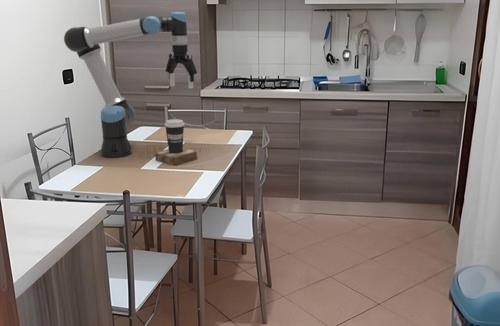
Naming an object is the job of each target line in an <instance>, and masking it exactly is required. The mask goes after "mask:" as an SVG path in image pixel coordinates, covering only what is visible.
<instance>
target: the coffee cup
mask: <svg viewBox="0 0 500 326" xmlns="http://www.w3.org/2000/svg"><path fill="white" fill-rule="evenodd" d="M163 126H164V128H165V132H166V141H167V147H168V148H167V149H169V152H170V153H181V152H183V148H184V127H185V122H184V120H183V119H179V118H178V119H177V118H174V119H168V120H165V123H164V125H163Z"/></svg>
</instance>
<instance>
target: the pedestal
mask: <svg viewBox="0 0 500 326" xmlns="http://www.w3.org/2000/svg"><path fill="white" fill-rule="evenodd" d="M154 156H155V161H157V162H161V163H164V164H168V165H172V166H179V165H183V164H186V163H188V162H192V161H194V160H198V153H197V151H195V150H193V149H188V148H184V147H183V152H181V153H170V152H169V148H167V149H164V150H161V151H156V153H155V155H154Z"/></svg>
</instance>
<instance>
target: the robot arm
mask: <svg viewBox="0 0 500 326" xmlns="http://www.w3.org/2000/svg"><path fill="white" fill-rule="evenodd" d="M187 26H188V24H187V14H186V13H185V12H183V11H179V12H178V11H172V12H170V15H169V16H160V15H159V16H158V15H157V16H156V15H155V16H154V15H151V16H147V17H142V18H136V19H132V20H127V21H122V22H117V23H111V24H107V25H101V26H96V27H88V26H78V27H77V26H76V27H71V28H68V29H67V31H65V34H64V37H63V41H64V44H65V46H66V48H67V49H69V50H70V51H71V52H74V53H76V54H77V55H78V58H79V59H81V60H83V61H84V63H85V65H86V66H87V69H88V70H89V71H88V72H89V73H90V75H91V78H93V81H94V83H95V85H96V87H97V89H98V91H99V93H100V95H101V97H102V98H103V101H104V103H105V106H104V107H103V108H102V109H101V110H100V119H101V131H102V132H101V133H102V143H101V148H100V156H101V157H104V158H121V157H126V156H129V155H131V154H132V152H133V150H132V147H131V144H130V141H129V138H128V132H127V127H129V126H131V125H132V123H133V122H134V120H135V117H136V113H135V112H136V111H135V109H134V108H133V106H132V105H131V104H129V103H128V101H127V99H126V98H125V97H123V96H121V94H120V92H119V89H118V87H117V85H116V83H115V81H114V79H113V77H112V75H111V73H110V71H109V68H108V67H107V65H106V63H105V61H104V59H103V57H102V54H101V51H102V48H101V46H100V44H104V43H110V42H116V41H120V40H125V39H130V38H136V37H141V36H145V35H146V36H147V35H151V34H157V33H171V43H172V46H171V47H172V49H171V50H172V53H169V55H168V60H167V64H166V68H165V72H166V73H167V74H168V80H169V87H175V86H176V81H175V79H176V78H175V72H174V71H175V70H176V67H177V66H178V64H179V65H181V64H182V66H184V68H185V69H186V71H187V73H188V76H187V78H188V79H187V80H188V82H187V83H188V89H194V82H195V75H198V72H197V68H196V66H195V63H194V61H193V56H192V54H187V53H188V52H189V51H188V45H187V44H188V32H187V31H188V30H187Z"/></svg>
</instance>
